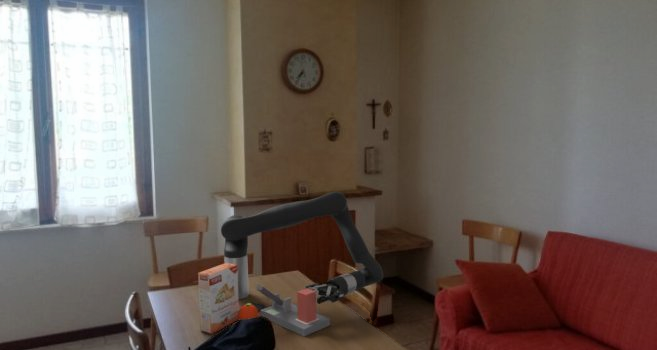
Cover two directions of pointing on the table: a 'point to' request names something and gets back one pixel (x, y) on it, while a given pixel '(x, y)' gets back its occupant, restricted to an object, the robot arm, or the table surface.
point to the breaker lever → (270, 295)
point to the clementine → (248, 311)
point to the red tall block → (306, 305)
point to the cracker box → (218, 297)
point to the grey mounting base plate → (293, 318)
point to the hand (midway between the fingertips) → (309, 297)
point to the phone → (258, 306)
